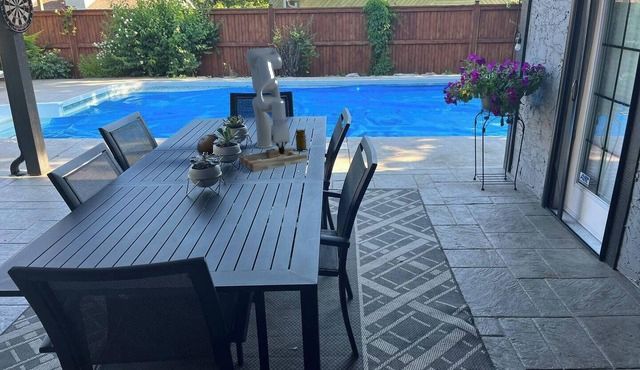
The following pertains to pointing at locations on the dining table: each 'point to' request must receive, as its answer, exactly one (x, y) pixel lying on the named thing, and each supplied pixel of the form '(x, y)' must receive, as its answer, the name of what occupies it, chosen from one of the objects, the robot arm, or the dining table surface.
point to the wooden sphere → (206, 144)
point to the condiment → (300, 140)
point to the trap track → (272, 160)
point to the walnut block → (272, 153)
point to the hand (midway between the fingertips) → (281, 153)
